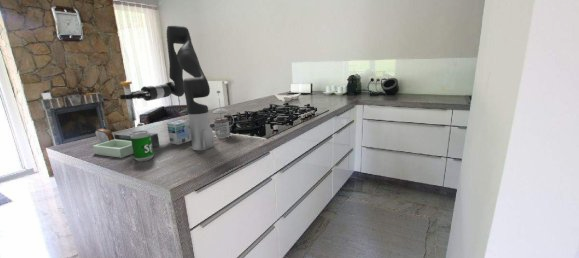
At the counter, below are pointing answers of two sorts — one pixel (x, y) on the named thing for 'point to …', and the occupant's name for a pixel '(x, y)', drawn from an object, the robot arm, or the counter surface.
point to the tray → (114, 148)
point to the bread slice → (104, 135)
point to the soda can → (142, 145)
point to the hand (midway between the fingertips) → (123, 97)
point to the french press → (218, 122)
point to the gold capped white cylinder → (129, 100)
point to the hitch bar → (127, 134)
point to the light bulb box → (179, 131)
